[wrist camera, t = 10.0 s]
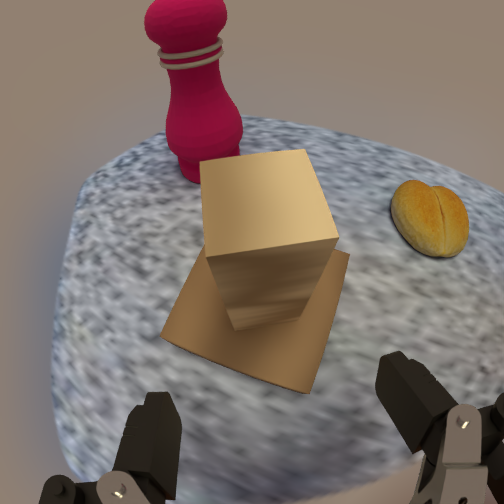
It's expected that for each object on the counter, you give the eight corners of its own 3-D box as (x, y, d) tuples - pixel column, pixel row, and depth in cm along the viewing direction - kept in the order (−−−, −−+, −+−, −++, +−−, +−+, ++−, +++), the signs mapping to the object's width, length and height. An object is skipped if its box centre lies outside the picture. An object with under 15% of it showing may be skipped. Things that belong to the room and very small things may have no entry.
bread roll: (383, 186, 26) (396, 159, 23) (449, 201, 25) (465, 179, 22) (392, 255, 22) (411, 231, 19) (464, 266, 22) (486, 247, 18)
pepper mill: (259, 161, 28) (255, -36, 10) (205, 200, 25) (157, -24, 8) (214, 133, 30) (192, -31, 13) (164, 166, 28) (111, -10, 10)
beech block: (285, 263, 19) (304, 149, 10) (298, 320, 17) (339, 237, 8) (226, 272, 19) (199, 161, 10) (234, 330, 17) (205, 256, 8)
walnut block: (339, 271, 22) (349, 254, 19) (301, 393, 17) (309, 394, 15) (224, 234, 24) (220, 213, 21) (172, 344, 19) (159, 336, 17)
